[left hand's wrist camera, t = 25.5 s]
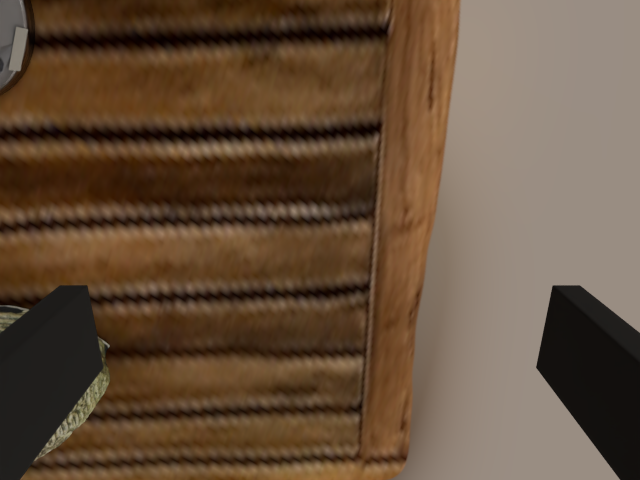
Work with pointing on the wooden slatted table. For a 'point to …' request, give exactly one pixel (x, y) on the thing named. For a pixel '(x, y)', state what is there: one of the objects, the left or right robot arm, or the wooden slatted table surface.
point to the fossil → (5, 317)
